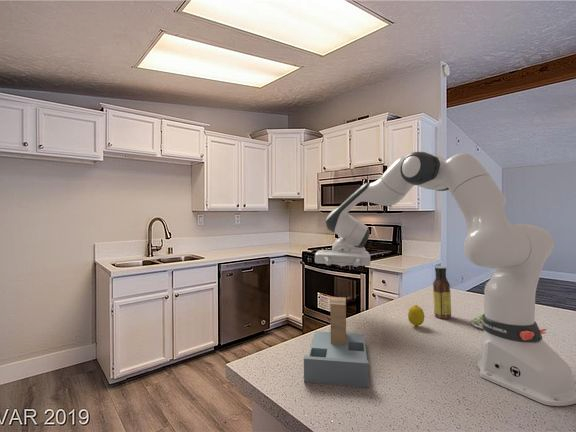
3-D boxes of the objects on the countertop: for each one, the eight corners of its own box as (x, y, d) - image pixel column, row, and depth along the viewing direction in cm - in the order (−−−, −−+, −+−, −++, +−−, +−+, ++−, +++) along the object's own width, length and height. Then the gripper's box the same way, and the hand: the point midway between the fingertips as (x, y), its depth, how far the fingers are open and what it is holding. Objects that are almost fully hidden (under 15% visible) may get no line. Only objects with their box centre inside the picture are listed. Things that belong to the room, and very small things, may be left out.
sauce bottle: (452, 315, 131) (452, 266, 130) (450, 320, 125) (450, 269, 125) (434, 313, 134) (434, 265, 134) (431, 317, 129) (431, 267, 129)
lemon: (421, 324, 122) (421, 303, 122) (426, 329, 117) (426, 307, 116) (406, 323, 123) (406, 302, 122) (410, 329, 117) (410, 307, 117)
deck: (315, 340, 109) (314, 322, 109) (364, 343, 106) (364, 324, 106) (304, 382, 83) (303, 358, 83) (368, 387, 80) (368, 363, 80)
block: (332, 333, 107) (331, 296, 106) (346, 334, 106) (345, 297, 105) (330, 343, 99) (330, 304, 98) (345, 344, 98) (345, 304, 98)
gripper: (316, 245, 129) (312, 253, 116) (369, 247, 126) (371, 256, 112) (315, 260, 130) (312, 270, 117) (368, 263, 127) (371, 274, 113)
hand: (341, 263), depth 114 cm, fingers open, 8 cm apart
